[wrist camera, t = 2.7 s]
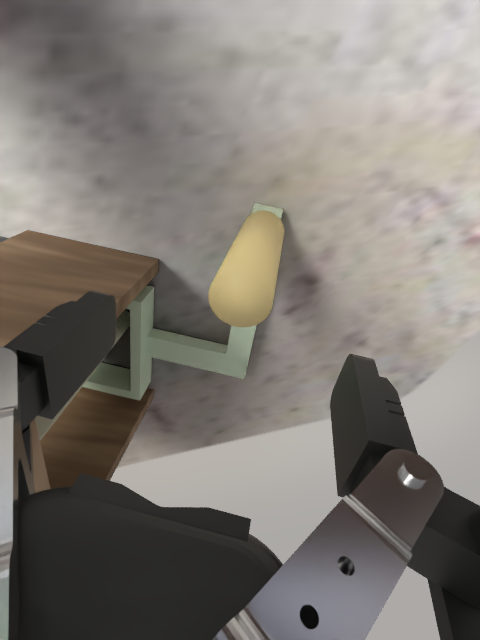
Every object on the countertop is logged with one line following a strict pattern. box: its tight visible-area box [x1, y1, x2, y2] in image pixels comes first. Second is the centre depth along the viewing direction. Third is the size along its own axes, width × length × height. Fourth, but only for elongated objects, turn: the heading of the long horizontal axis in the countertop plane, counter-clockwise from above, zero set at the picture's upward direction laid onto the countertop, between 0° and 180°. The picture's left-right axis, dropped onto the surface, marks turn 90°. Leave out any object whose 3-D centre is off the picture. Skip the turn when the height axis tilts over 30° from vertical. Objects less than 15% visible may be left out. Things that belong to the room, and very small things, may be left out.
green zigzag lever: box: [82, 203, 284, 401], centre depth 22 cm, size 17×18×10 cm
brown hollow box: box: [0, 230, 159, 493], centre depth 23 cm, size 14×10×15 cm
